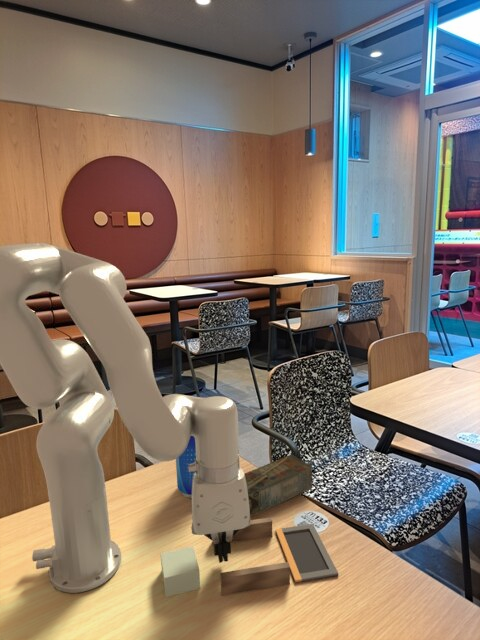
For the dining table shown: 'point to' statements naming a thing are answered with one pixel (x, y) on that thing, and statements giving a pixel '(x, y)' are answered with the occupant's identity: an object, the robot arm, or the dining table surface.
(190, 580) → the block
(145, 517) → the dining table surface
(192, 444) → the beer can
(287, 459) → the beverage carton
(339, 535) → the dining table surface
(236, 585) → the brown parallel walls
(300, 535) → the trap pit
